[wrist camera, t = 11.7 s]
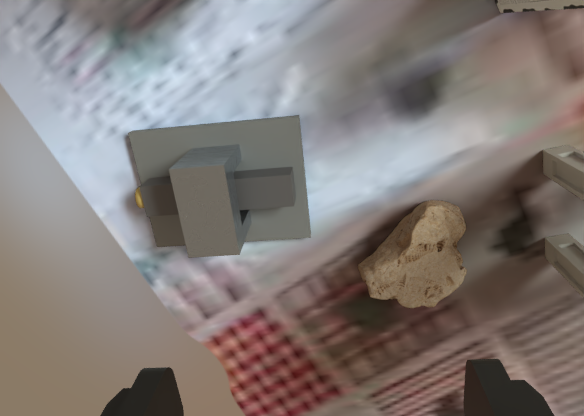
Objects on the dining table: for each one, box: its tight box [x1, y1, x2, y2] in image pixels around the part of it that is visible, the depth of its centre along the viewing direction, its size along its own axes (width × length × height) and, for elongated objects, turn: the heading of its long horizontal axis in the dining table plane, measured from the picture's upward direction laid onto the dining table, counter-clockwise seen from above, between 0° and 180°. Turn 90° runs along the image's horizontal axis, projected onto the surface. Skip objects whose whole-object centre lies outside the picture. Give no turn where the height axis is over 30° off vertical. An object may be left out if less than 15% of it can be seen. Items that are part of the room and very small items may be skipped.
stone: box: [358, 200, 467, 308], centre depth 41 cm, size 9×11×5 cm
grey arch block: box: [169, 144, 252, 258], centre depth 38 cm, size 8×4×6 cm, turn 6°
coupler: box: [128, 115, 311, 247], centre depth 40 cm, size 12×16×4 cm
